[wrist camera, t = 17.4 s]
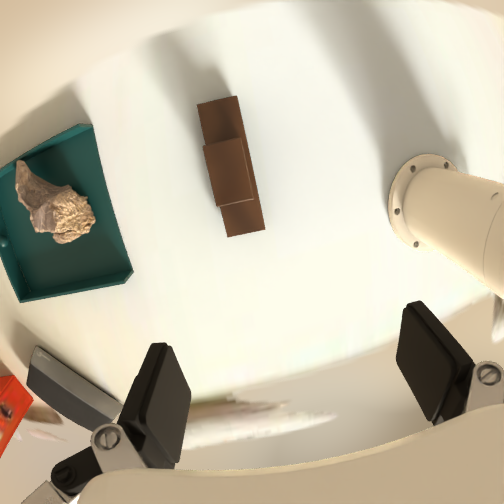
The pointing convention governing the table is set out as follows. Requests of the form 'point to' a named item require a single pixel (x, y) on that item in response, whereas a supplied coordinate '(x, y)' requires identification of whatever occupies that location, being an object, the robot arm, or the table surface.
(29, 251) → the dustpan
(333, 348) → the table surface
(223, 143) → the brown stepped block
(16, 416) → the file binder
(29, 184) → the rock
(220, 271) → the table surface
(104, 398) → the hard drive
